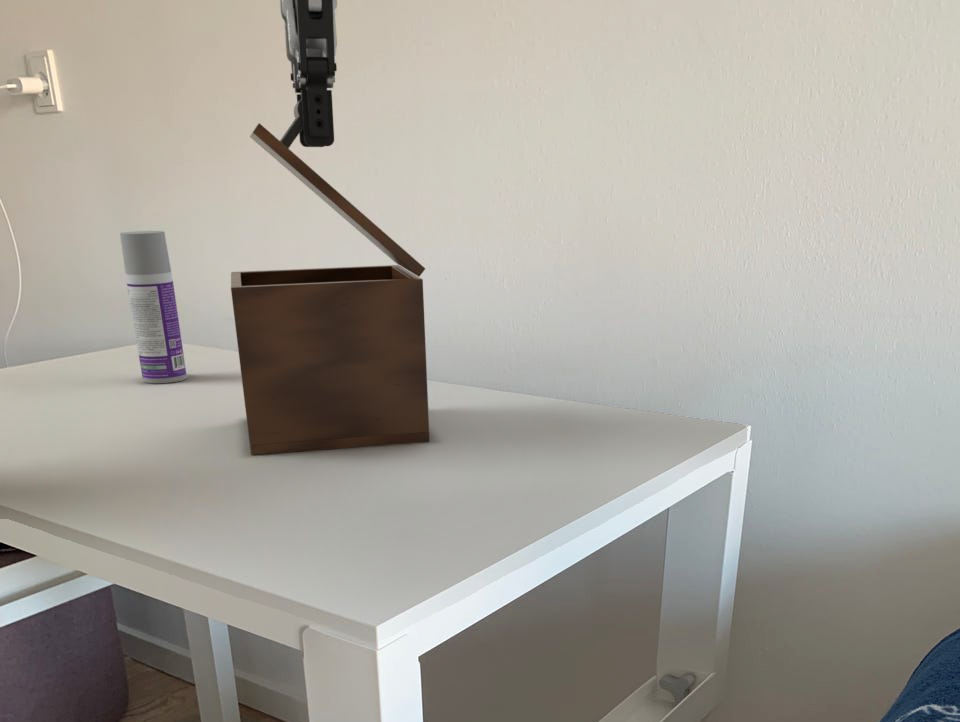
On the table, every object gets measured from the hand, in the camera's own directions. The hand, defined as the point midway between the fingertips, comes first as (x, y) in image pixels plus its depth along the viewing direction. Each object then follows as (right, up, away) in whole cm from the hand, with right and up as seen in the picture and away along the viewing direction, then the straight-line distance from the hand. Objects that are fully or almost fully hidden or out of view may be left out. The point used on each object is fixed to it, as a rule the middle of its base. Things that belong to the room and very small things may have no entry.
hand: (316, 145), depth 78 cm
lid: (+1, -4, +2) cm, 4 cm away
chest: (0, -20, +10) cm, 22 cm away
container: (-22, -10, +32) cm, 40 cm away
